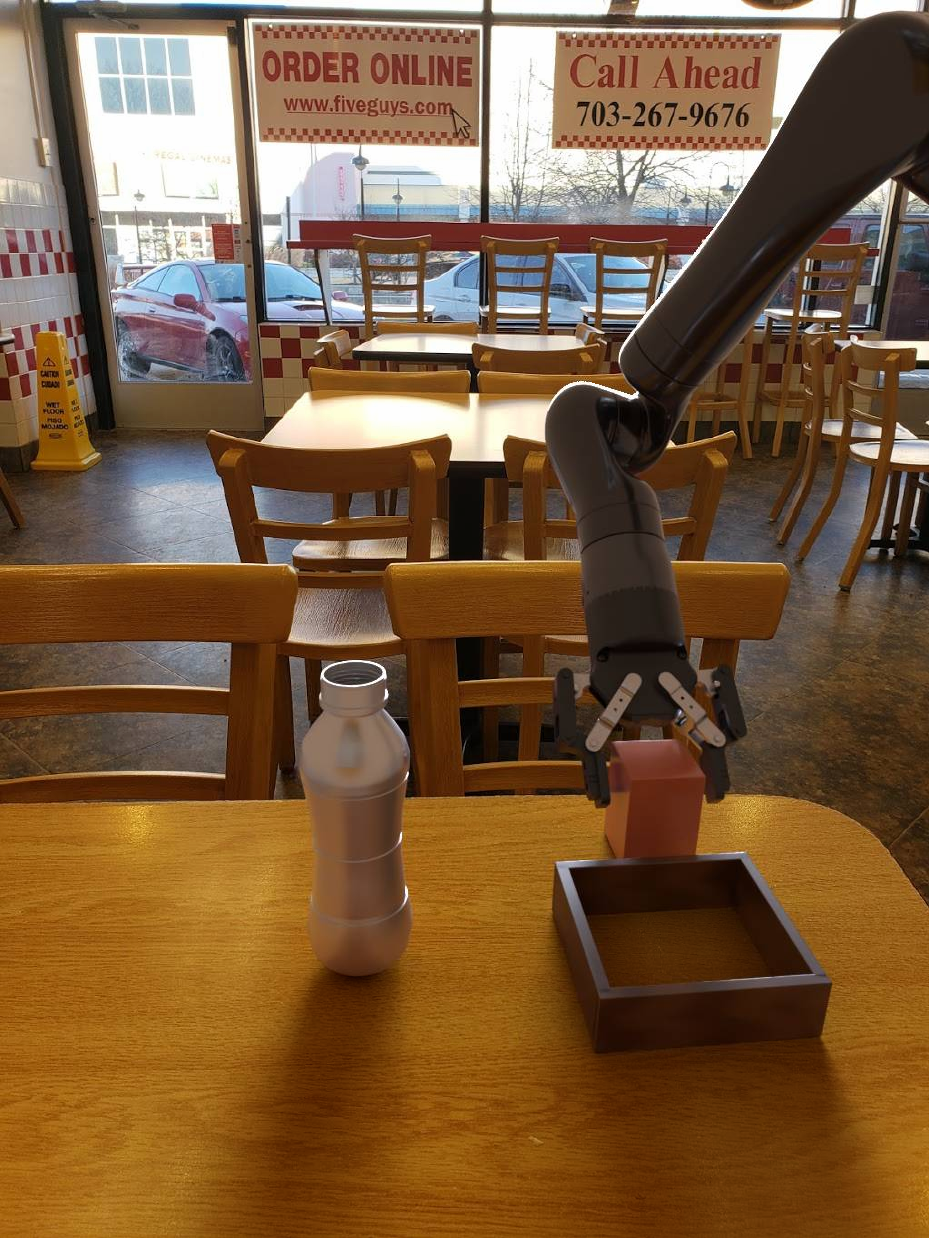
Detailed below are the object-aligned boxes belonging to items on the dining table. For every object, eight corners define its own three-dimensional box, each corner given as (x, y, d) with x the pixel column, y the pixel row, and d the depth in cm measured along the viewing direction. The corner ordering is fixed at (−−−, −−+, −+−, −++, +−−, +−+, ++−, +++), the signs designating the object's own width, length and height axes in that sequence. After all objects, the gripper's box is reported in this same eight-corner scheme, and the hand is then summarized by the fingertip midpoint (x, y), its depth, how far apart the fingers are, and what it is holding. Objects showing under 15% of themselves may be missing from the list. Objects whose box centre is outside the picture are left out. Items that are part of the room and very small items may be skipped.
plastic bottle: (426, 974, 59) (429, 687, 52) (321, 1002, 57) (308, 706, 49) (395, 911, 65) (393, 644, 57) (298, 934, 62) (283, 659, 55)
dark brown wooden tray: (739, 898, 67) (746, 851, 65) (821, 1036, 55) (832, 982, 54) (551, 909, 65) (554, 861, 64) (595, 1053, 54) (600, 998, 52)
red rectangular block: (670, 827, 75) (681, 738, 72) (694, 869, 70) (706, 776, 67) (603, 830, 74) (611, 741, 71) (621, 873, 69) (631, 779, 66)
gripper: (551, 584, 71) (575, 797, 65) (732, 580, 73) (773, 788, 66) (535, 623, 78) (555, 819, 71) (701, 619, 79) (735, 810, 73)
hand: (660, 804), depth 69 cm, fingers open, 8 cm apart
